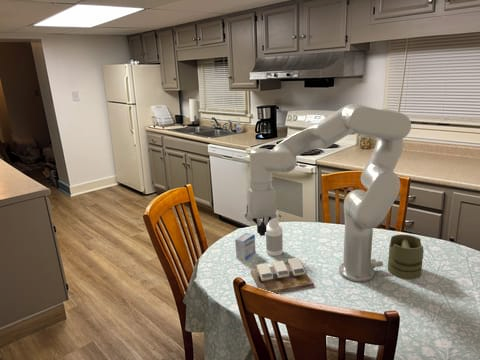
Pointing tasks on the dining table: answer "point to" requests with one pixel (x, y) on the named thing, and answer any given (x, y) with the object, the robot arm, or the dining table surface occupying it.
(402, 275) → the piston
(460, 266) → the dining table surface
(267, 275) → the block
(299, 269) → the rocker
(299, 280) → the switch board
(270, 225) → the spray bottle
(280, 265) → the rocker middle
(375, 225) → the robot arm
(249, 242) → the medicine box
